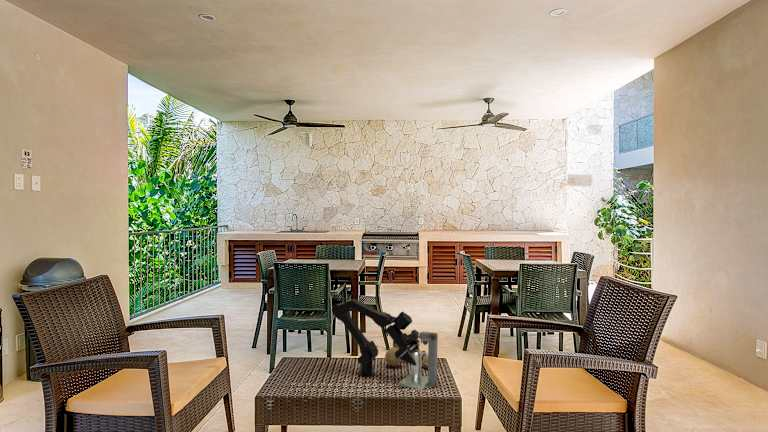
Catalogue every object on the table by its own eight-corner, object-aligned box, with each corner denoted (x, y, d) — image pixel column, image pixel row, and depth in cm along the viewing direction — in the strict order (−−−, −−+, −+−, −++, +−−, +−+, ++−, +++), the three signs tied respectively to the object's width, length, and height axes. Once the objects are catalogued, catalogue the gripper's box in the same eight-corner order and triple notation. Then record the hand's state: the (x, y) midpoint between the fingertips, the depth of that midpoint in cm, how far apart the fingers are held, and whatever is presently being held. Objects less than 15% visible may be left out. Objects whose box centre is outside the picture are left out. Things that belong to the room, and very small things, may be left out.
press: (394, 388, 202) (394, 336, 203) (409, 376, 219) (410, 327, 220) (427, 394, 196) (427, 340, 196) (440, 381, 213) (440, 331, 213)
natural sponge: (397, 370, 228) (398, 350, 228) (382, 368, 231) (382, 348, 232) (404, 365, 236) (405, 346, 236) (389, 363, 240) (389, 344, 240)
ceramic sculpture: (416, 345, 242) (442, 351, 235) (415, 361, 242) (441, 367, 235) (407, 350, 233) (434, 356, 226) (406, 367, 233) (433, 373, 226)
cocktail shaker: (409, 380, 209) (409, 349, 210) (413, 377, 214) (414, 347, 214) (418, 382, 207) (419, 351, 207) (423, 379, 211) (423, 348, 212)
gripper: (401, 329, 204) (424, 357, 199) (415, 321, 221) (437, 346, 216) (385, 344, 207) (407, 372, 202) (400, 335, 224) (421, 361, 219)
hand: (419, 362), depth 210 cm, fingers open, 9 cm apart
